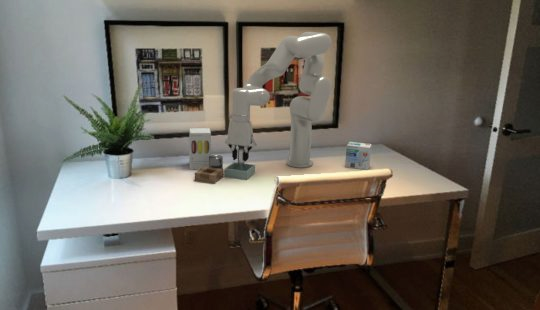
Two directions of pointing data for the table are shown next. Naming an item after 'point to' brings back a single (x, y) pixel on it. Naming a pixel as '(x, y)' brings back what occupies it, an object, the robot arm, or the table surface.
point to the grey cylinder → (216, 161)
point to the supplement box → (199, 147)
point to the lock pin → (241, 158)
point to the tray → (239, 171)
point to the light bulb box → (358, 155)
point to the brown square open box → (209, 175)
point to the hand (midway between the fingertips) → (240, 159)
